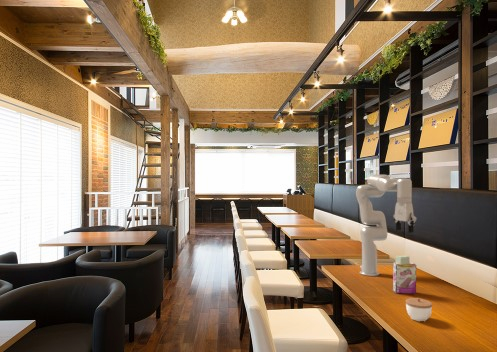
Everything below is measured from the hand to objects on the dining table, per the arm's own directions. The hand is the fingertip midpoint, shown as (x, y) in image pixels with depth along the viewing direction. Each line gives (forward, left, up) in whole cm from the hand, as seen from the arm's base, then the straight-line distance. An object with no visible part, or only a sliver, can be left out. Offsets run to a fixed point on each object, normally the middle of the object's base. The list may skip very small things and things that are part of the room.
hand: (404, 231), depth 196 cm
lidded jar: (+33, -21, -34) cm, 52 cm away
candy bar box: (0, 0, -34) cm, 34 cm away
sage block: (+1, +1, -16) cm, 16 cm away
